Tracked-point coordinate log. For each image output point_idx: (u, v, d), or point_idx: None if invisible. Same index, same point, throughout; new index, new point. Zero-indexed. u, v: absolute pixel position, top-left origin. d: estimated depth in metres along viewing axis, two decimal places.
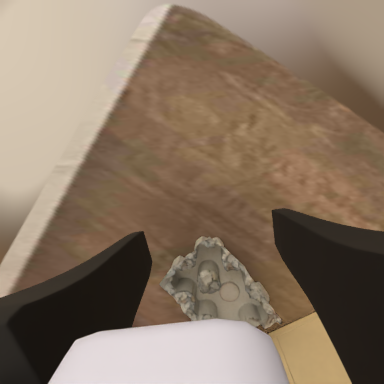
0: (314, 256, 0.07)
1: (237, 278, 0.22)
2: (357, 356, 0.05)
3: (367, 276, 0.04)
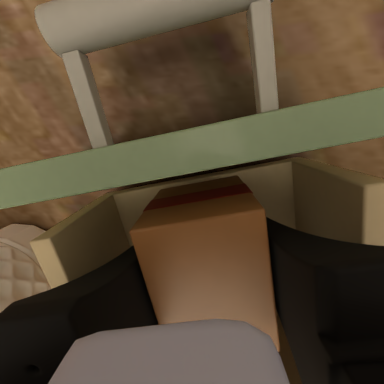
0: (273, 262, 0.07)
1: None
2: (304, 361, 0.06)
3: (302, 284, 0.05)
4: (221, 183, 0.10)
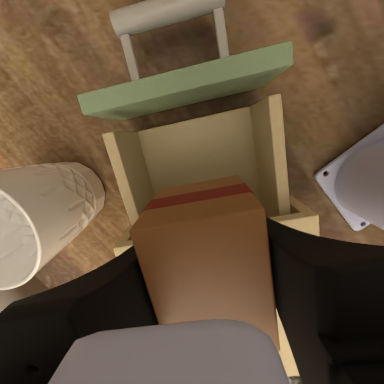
0: (273, 262, 0.07)
1: None
2: (304, 361, 0.06)
3: (303, 284, 0.05)
4: (221, 183, 0.10)
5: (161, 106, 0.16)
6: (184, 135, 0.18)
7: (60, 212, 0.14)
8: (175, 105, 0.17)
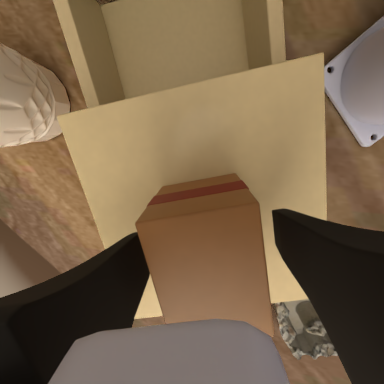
0: (314, 256, 0.07)
1: None
2: (357, 356, 0.05)
3: (367, 276, 0.04)
4: (220, 180, 0.10)
5: None
6: (158, 9, 0.14)
7: None
8: None
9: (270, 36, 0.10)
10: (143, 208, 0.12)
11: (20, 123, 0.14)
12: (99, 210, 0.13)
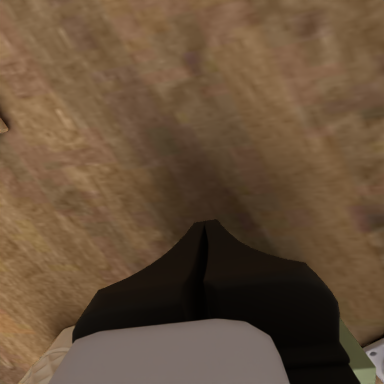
0: None
1: None
2: None
3: None
4: None
5: None
6: None
7: None
8: None
9: None
10: None
11: None
12: None
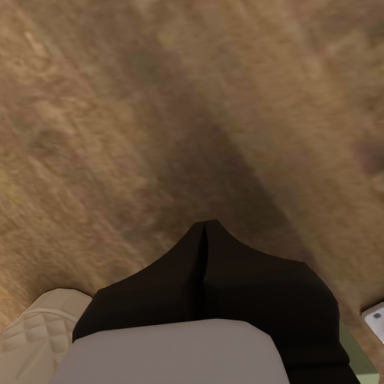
0: None
1: None
2: None
3: None
4: None
5: None
6: None
7: None
8: None
9: None
10: None
11: None
12: None
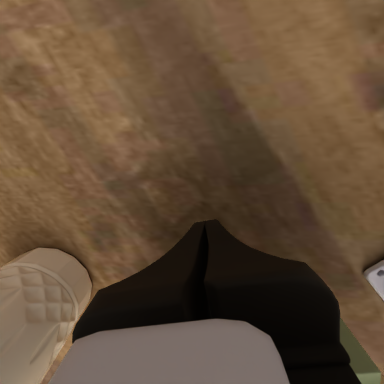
0: None
1: None
2: None
3: None
4: None
5: None
6: None
7: (14, 381, 0.10)
8: None
9: None
10: None
11: (44, 376, 0.12)
12: None
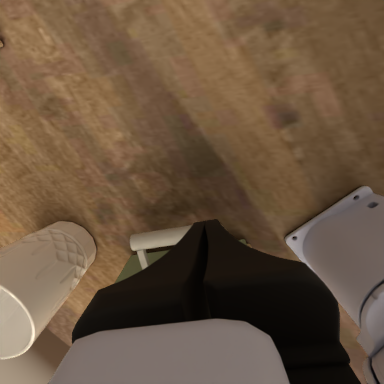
0: None
1: None
2: None
3: None
4: None
5: None
6: None
7: (52, 288, 0.16)
8: None
9: None
10: None
11: (66, 298, 0.19)
12: None
